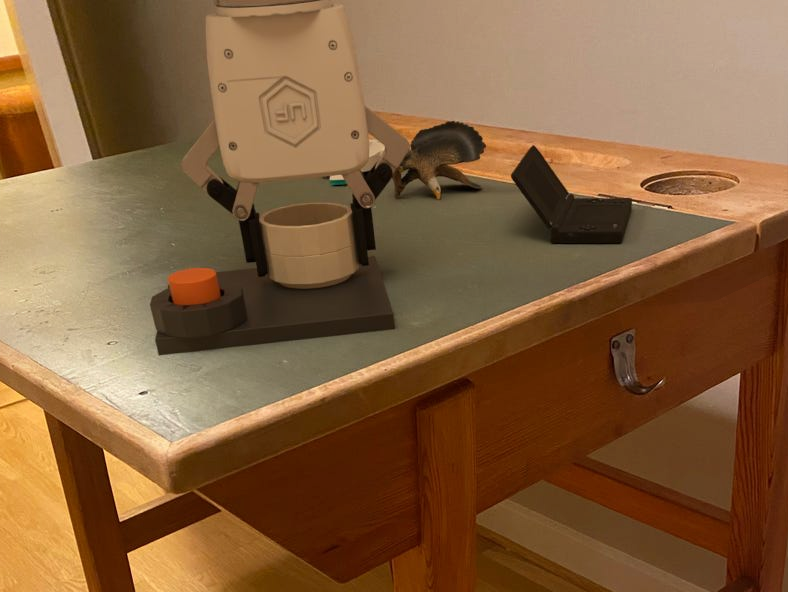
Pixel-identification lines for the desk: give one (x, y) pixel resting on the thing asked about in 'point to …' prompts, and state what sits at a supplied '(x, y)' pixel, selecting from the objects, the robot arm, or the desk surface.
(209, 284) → the button
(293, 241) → the bowl
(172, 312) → the scale
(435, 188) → the triceratops head
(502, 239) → the desk surface
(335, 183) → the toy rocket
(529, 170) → the handheld gaming console
